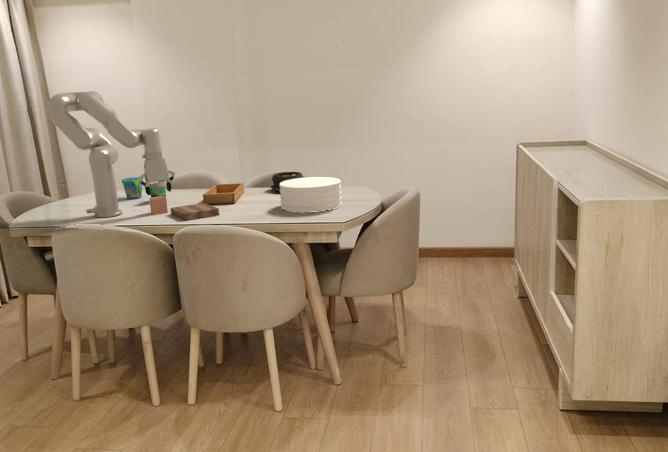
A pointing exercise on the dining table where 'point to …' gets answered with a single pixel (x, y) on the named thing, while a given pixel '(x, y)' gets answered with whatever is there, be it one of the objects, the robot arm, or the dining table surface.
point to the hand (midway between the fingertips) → (159, 193)
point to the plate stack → (310, 194)
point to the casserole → (284, 178)
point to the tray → (223, 193)
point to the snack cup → (132, 187)
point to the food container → (158, 189)
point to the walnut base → (194, 211)
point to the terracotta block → (158, 205)
